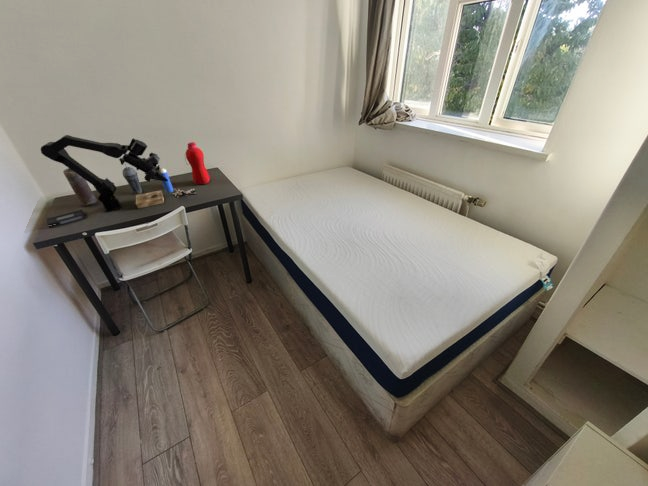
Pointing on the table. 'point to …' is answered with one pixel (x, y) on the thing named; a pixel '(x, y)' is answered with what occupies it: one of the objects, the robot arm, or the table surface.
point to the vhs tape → (65, 218)
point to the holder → (149, 199)
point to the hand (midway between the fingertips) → (168, 179)
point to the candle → (80, 187)
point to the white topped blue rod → (166, 184)
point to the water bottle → (197, 164)
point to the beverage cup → (132, 179)
